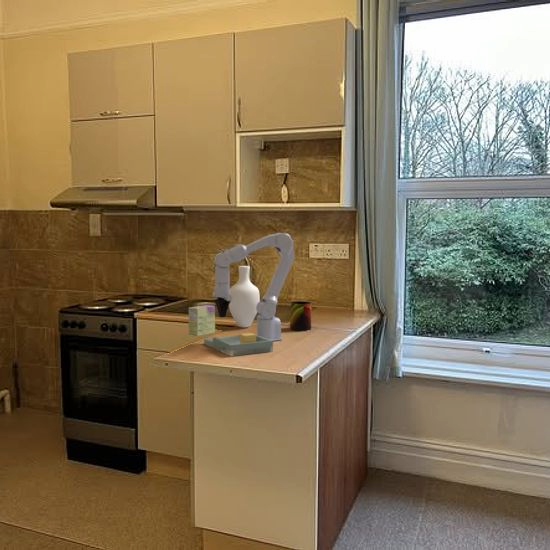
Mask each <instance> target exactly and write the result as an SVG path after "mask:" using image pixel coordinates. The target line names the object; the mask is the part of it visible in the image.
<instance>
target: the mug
mask: <svg viewBox="0 0 550 550" xmlns="http://www.w3.org/2000/svg"><path fill="white" fill-rule="evenodd" d="M289 330H290V331H294V332H308V331H307V330H309V331H311V330H312V302H310V301H291V302H289Z"/></svg>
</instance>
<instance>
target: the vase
mask: <svg viewBox="0 0 550 550" xmlns="http://www.w3.org/2000/svg"><path fill="white" fill-rule="evenodd" d="M250 267H251V266H249V265H238V268H237V269H238V275H239V276H238V280H237V282H236V283H235V284H233V285H232V286H231V287H230V295H231V296H232V301H231V302H230V304H229V306H228V307H229V308H228V309H229V312H230V314H231V315H232V318H233V320H234V321H235V324H236V325H237V327H239V328H241V329H242V328H243V329H245V328H246V329H247V328H249V327H250V326H251V325H252V323H253V321H254V319H255V318H256V317H257V315H258V314H257V313H258V312H257V310H256V306H257V304H258V303H259V302H260V301H261V300H260V299H261V298H260V290H259V288H258V287H257V286H256V285H255V284H253V283H252V282H251V281H250V276H249V275H250V269H251V268H250Z"/></svg>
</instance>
